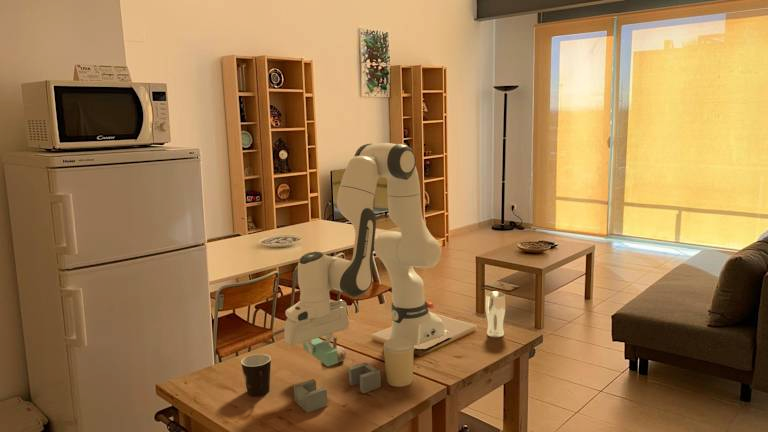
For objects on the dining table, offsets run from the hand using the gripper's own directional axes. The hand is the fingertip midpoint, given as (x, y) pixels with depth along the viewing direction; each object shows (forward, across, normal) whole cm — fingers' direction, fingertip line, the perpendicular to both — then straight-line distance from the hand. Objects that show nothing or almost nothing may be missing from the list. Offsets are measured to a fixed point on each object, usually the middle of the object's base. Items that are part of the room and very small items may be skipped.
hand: (319, 349), depth 177 cm
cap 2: (+10, -9, +10) cm, 17 cm away
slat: (+2, 0, 0) cm, 2 cm away
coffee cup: (+11, -19, +14) cm, 26 cm away
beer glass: (+13, -67, +6) cm, 68 cm away
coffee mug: (+10, +19, -5) cm, 22 cm away
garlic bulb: (+11, -11, -11) cm, 19 cm away
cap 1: (+10, +9, +10) cm, 17 cm away
